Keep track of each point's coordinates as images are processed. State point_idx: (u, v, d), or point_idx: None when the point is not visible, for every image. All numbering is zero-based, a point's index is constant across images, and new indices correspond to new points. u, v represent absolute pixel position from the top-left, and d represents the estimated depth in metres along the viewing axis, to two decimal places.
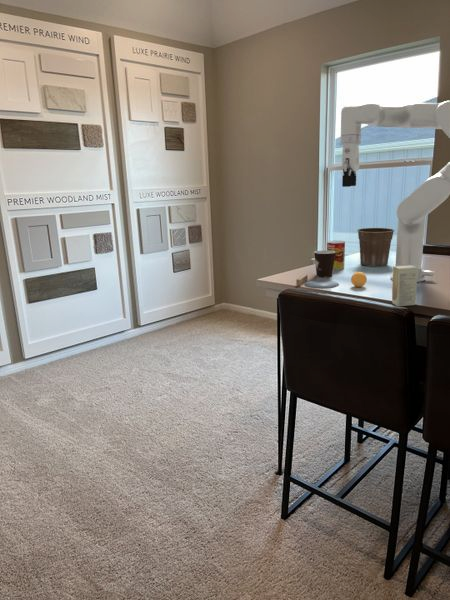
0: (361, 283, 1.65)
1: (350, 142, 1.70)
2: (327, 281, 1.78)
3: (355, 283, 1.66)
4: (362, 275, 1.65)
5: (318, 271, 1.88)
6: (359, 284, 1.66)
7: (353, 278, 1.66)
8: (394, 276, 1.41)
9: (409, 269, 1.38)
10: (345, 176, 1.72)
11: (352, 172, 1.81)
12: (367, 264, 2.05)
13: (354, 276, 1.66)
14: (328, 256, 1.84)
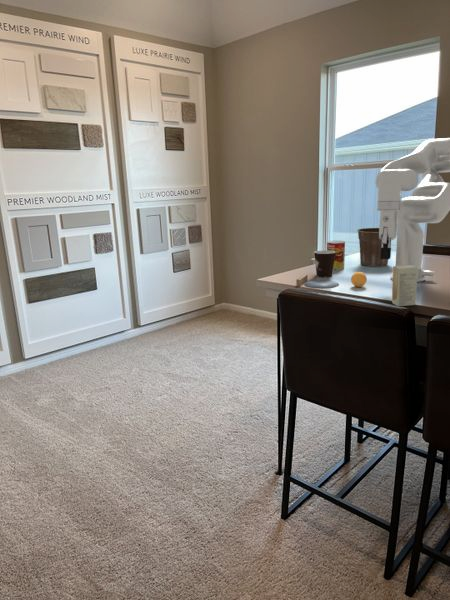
0: (361, 283, 1.65)
1: (389, 209, 1.53)
2: (327, 281, 1.78)
3: (355, 283, 1.66)
4: (362, 275, 1.65)
5: (318, 271, 1.88)
6: (359, 284, 1.66)
7: (353, 278, 1.66)
8: (394, 276, 1.41)
9: (409, 269, 1.38)
10: (384, 248, 1.59)
11: None
12: (367, 264, 2.05)
13: (354, 276, 1.66)
14: (328, 256, 1.84)
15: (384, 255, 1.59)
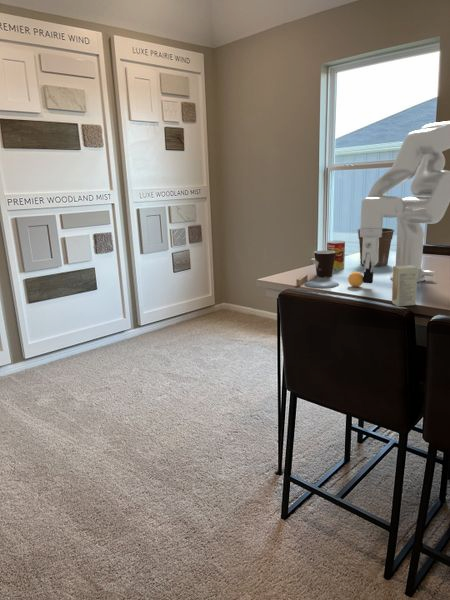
0: (359, 282, 1.66)
1: (371, 236, 1.58)
2: (327, 281, 1.78)
3: (353, 283, 1.66)
4: (358, 274, 1.66)
5: (318, 271, 1.88)
6: (357, 284, 1.66)
7: (350, 279, 1.67)
8: (394, 276, 1.41)
9: (409, 269, 1.38)
10: (367, 273, 1.63)
11: None
12: None
13: (350, 276, 1.67)
14: (328, 256, 1.84)
15: (367, 279, 1.64)
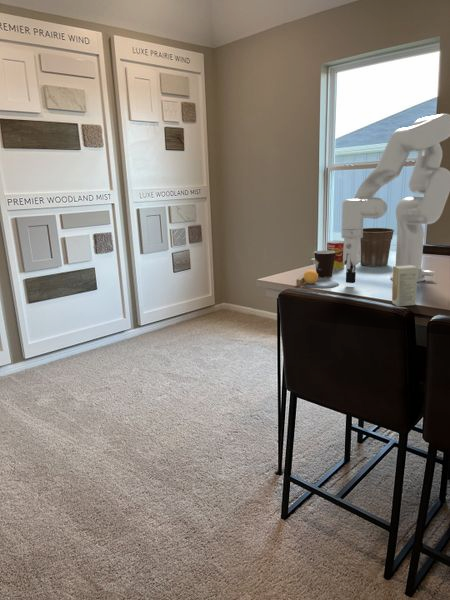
0: (312, 280, 1.73)
1: (352, 237, 1.61)
2: (327, 281, 1.78)
3: (307, 280, 1.73)
4: (313, 272, 1.73)
5: (318, 271, 1.88)
6: (311, 281, 1.73)
7: (305, 276, 1.74)
8: (394, 276, 1.41)
9: (409, 269, 1.38)
10: (349, 273, 1.67)
11: None
12: (367, 264, 2.05)
13: (306, 274, 1.73)
14: (328, 256, 1.84)
15: (349, 279, 1.68)
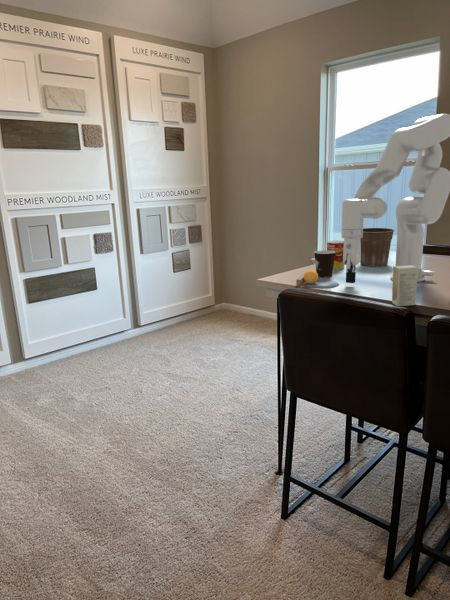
0: (313, 280, 1.73)
1: (352, 237, 1.61)
2: (327, 281, 1.78)
3: (307, 280, 1.73)
4: (313, 273, 1.73)
5: (318, 271, 1.88)
6: (311, 281, 1.73)
7: (305, 276, 1.74)
8: (394, 276, 1.41)
9: (409, 269, 1.38)
10: (349, 273, 1.67)
11: None
12: (367, 264, 2.05)
13: (306, 274, 1.73)
14: (328, 256, 1.84)
15: (349, 279, 1.68)
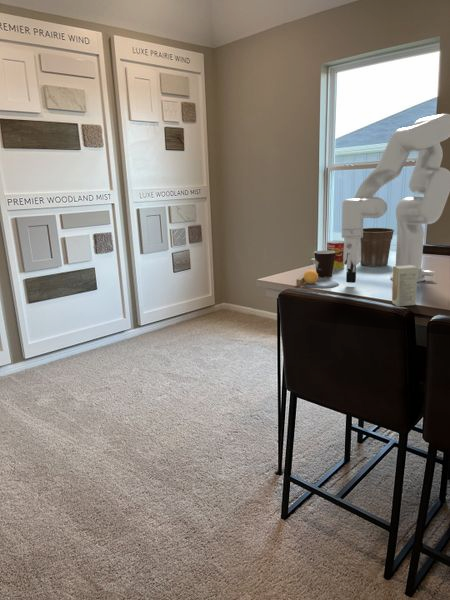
0: (313, 280, 1.73)
1: (352, 237, 1.61)
2: (327, 281, 1.78)
3: (307, 280, 1.73)
4: (313, 273, 1.73)
5: (318, 271, 1.88)
6: (311, 281, 1.73)
7: (305, 276, 1.74)
8: (394, 276, 1.41)
9: (409, 269, 1.38)
10: (349, 273, 1.67)
11: None
12: (367, 264, 2.05)
13: (306, 274, 1.73)
14: (328, 256, 1.84)
15: (349, 279, 1.68)
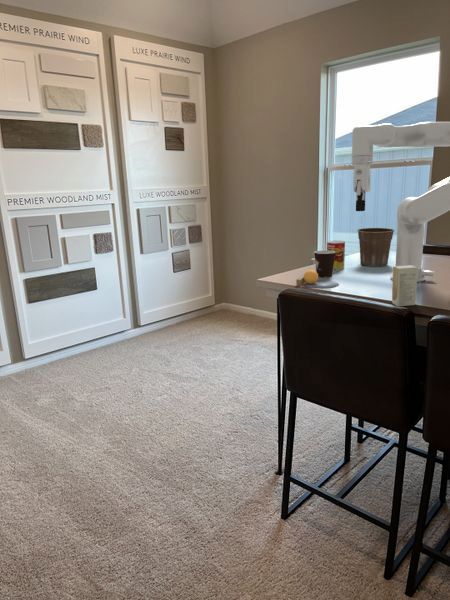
0: (313, 280, 1.73)
1: (362, 163, 1.65)
2: (327, 281, 1.78)
3: (307, 280, 1.73)
4: (313, 273, 1.73)
5: (318, 271, 1.88)
6: (311, 281, 1.73)
7: (305, 276, 1.74)
8: (394, 276, 1.41)
9: (409, 269, 1.38)
10: (359, 201, 1.70)
11: None
12: (367, 264, 2.05)
13: (306, 274, 1.73)
14: (328, 256, 1.84)
15: (359, 207, 1.71)
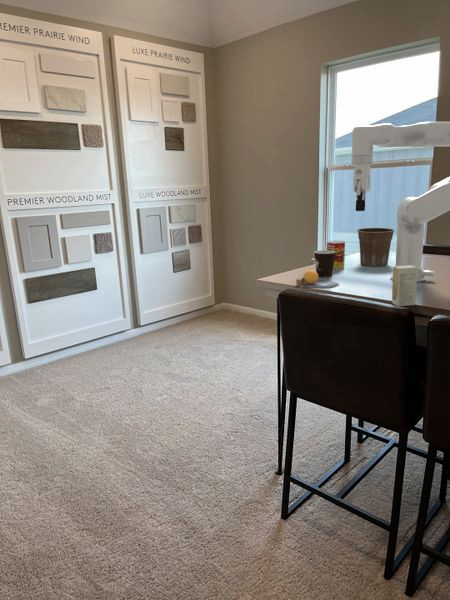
0: (313, 280, 1.73)
1: (362, 163, 1.65)
2: (327, 281, 1.78)
3: (307, 280, 1.73)
4: (313, 273, 1.73)
5: (318, 271, 1.88)
6: (311, 281, 1.73)
7: (305, 276, 1.74)
8: (394, 276, 1.41)
9: (409, 269, 1.38)
10: (359, 201, 1.71)
11: None
12: (367, 264, 2.05)
13: (306, 274, 1.73)
14: (328, 256, 1.84)
15: (359, 207, 1.71)
